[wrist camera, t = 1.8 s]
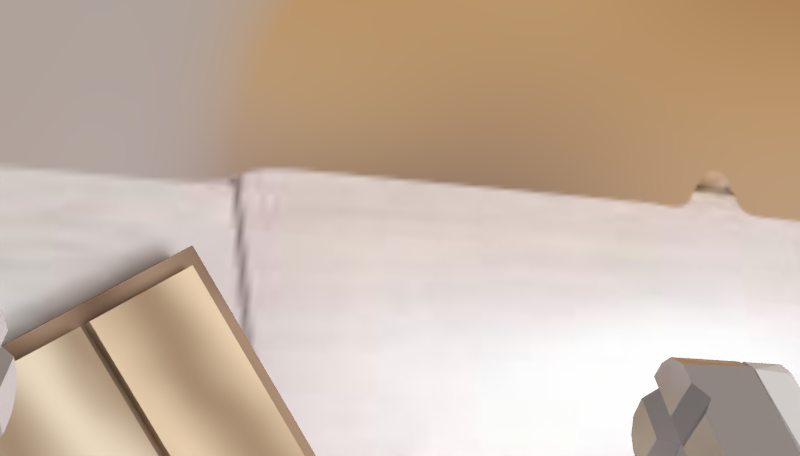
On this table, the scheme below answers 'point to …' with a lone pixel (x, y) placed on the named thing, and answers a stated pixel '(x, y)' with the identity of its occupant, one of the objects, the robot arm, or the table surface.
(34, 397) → the ash plank
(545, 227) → the table surface
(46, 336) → the wooden box
